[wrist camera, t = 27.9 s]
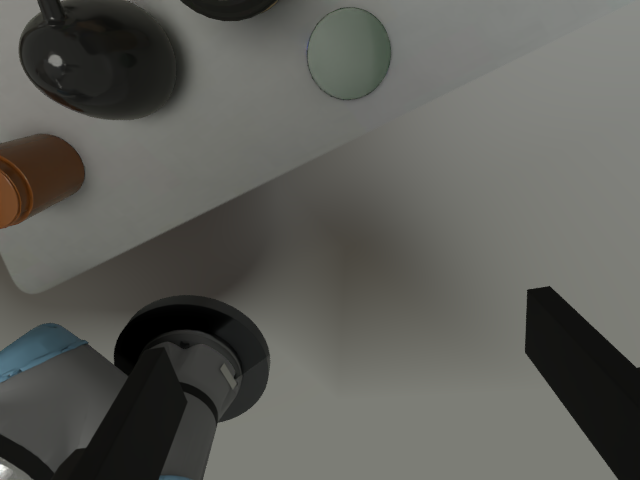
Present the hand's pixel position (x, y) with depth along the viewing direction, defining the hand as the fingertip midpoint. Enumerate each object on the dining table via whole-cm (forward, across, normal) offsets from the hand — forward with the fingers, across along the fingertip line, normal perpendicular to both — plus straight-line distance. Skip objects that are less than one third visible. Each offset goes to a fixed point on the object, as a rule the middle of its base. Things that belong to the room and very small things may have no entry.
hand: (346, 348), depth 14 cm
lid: (+31, +4, +10) cm, 33 cm away
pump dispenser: (+33, -17, +13) cm, 39 cm away
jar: (+33, -30, +4) cm, 45 cm away
